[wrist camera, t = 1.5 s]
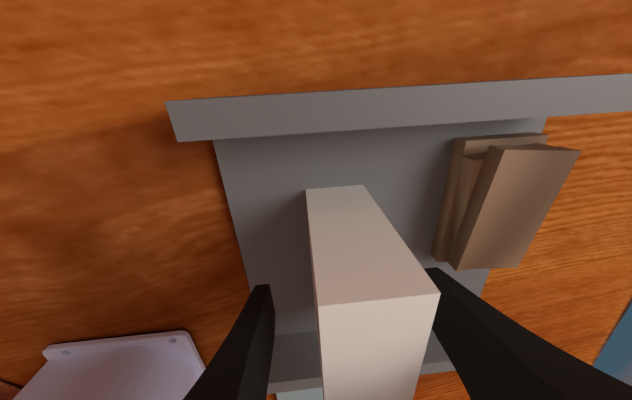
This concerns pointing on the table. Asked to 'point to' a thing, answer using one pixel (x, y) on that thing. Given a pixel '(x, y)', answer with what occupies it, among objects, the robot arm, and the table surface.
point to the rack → (360, 176)
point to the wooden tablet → (8, 390)
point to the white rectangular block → (366, 298)
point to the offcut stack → (497, 198)
